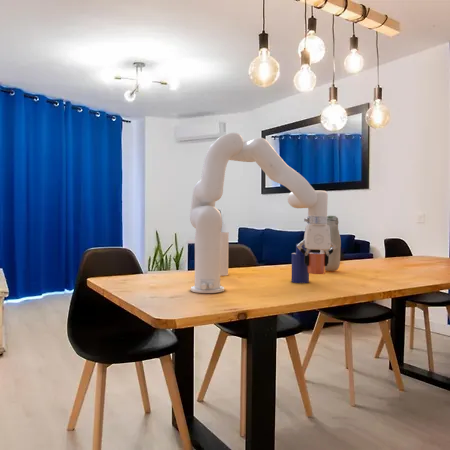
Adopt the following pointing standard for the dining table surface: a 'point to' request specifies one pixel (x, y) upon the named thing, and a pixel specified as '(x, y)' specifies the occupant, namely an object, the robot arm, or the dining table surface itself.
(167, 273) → the dining table surface
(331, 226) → the grey bottle
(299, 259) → the water bottle
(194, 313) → the dining table surface
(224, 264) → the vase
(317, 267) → the cup
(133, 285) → the dining table surface
